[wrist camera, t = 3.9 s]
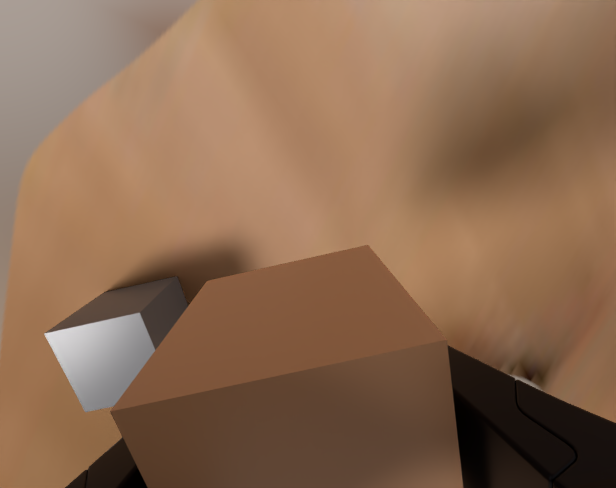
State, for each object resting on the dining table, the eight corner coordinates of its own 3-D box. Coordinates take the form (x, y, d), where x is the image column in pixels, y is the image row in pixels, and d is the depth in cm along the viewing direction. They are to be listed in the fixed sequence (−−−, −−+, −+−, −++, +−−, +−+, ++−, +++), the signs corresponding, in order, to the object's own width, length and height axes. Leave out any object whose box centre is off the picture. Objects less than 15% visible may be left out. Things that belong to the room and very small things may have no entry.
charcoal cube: (132, 355, 21) (85, 412, 17) (104, 291, 20) (44, 333, 15) (201, 340, 21) (173, 393, 17) (177, 275, 20) (139, 312, 15)
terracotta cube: (250, 410, 11) (212, 619, 6) (207, 280, 9) (110, 411, 4) (391, 380, 10) (472, 568, 6) (367, 244, 9) (446, 339, 4)
